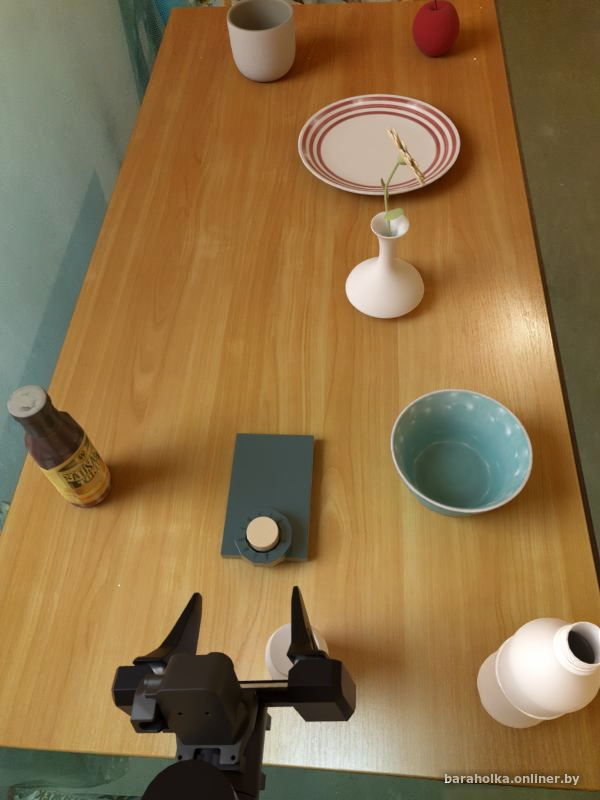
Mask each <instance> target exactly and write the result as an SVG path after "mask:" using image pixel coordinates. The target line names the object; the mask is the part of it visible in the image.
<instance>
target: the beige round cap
mask: <svg viewBox="0 0 600 800" xmlns="http://www.w3.org/2000/svg"><path fill="white" fill-rule="evenodd" d="M247 538H248V541H249V543H250V545H251V546H252V547H253V548H254V549H256V550H258V551H268V550H270V549H272V548H273V547H275V545H276V544H277V543H278V540H279V530H278V526H277V524H276V523H275V521H274V520H272V519H271V518H268V517H258V518H256V519H254V520H253V521H252V522H251V523H250V524H249V525H248V528H247Z"/></svg>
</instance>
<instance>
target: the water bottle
mask: <svg viewBox="0 0 600 800" xmlns="http://www.w3.org/2000/svg"><path fill="white" fill-rule="evenodd" d="M476 687H477V692H478V695H479V699H480V703H481V705H482V707H483V708H484V710H485V711H486V713H488V715H489V716H490V717H491V718H493V719H494V720H495V721H496V722H497V723H499V724H501V725H503V726H506V727H510V728H515V729H527V728H531V727H534V726H536V725H539V724H540V723H542V722H543V721H551V720H554V719H557V718H561V717H562V716H564V715H565V714H570V713H574V712H577V711H579V710H582V709H583V708H584V707H586V706H588V705H589V704H590V703H591V702H592V701H593V700H594V698H595V697H596V696H597V695H598V692H599V690H600V627H599V626H597V625H596V624H594V623H592V622H589V621H578V622H574V623H571V622H569V621H568V620H564V619H562V618H557V617H540V618H536V619H533V620H530V621H528V622H526V623H524V624H523V625H522V626H521V627H519V628H518V629H517V630H516V631H515V633H514V634H513V635H511V636H510V637H508V638H506V640H505V641H504V642H503V643H502V644H501V645H500V646H499V648H498V649H497V650H496V651H494V652H492V653H491V654H489V655H488V657H486V659H485V660H484V661H483V663H482V664H481V666H480V668H479V670H478V674H477V678H476Z"/></svg>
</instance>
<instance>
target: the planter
mask: <svg viewBox="0 0 600 800" xmlns="http://www.w3.org/2000/svg"><path fill="white" fill-rule="evenodd" d="M226 22H227V29H228V36H229V41H230V42H229V43H230V47H231V53H232V57H233V60H234V61H233V62H234V63H235V65H236V67H237V70H238V71H239V72H240V73H241V74H242V75H243V76H244V77H246V78H247V79H249V80H251V81H254V82H258V83H259V82H261V83H267V82H273V81H276V80H279V79H280V78H282V77H284V76H286V75H287V73H288V72H290V70H291V68H292V66H293V64H294V61H295V57H296V25H295V24H296V23H295V10H294V6H293V5H292V4H291V3H290V1H288V0H239V1H238V2H235V3H234V4H233V5H232V6H231V7H230V8H229V9H228V10H227V12H226Z"/></svg>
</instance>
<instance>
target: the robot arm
mask: <svg viewBox="0 0 600 800" xmlns="http://www.w3.org/2000/svg"><path fill="white" fill-rule="evenodd" d="M179 615H180V616H179V617H178V619H177V620H176V622H175V623H174V625H173V627H172V628H171V630H170V631H169V633H168V635H167V636H166V637H165V639H164V640H162V643H161V644H160V645H159V646H158V647H157V648H155V649H154V650H152V651H151V652H149V653H147V654H145V655H139V656H136V657H135V658H134V659H133V660H132V665H119V666H118V667H117V668H116V670H115V673H114V677H113V680H112V684H111V687H110V688H111V689H110V690H111V691H110V692H111V699H112V701H113V703H114V706H115V707H116V708H118V709H119V710H120V711H122V712H123V713H124V714H126V715H128V716H129V717H130V719H129V722H130V724H131V726H132V728H133V730H134V733H136V734H160V733H163V734H175V744H176V750H175V756H174V761H175V762H174V763H173V764H172V763H171V764H170V765H167V766H166V767H165V768H164V769H163V770H161V771H159V773H157V775H155V776H154V777H153V779H152V780H151V781H150V783H148V785H147V787H146V789H145V790H144V792H143V794H142V796H141V797H140V800H260V792H261V791H265V790H266V780H267V774H266V773H264V772H263V762H264V750H265V741H266V732H268V731H269V732H270V731H271V728H272V716H271V714H270V713H268V712H269V708H293V709H294V710H295V711H296V712H297V714H298V715H299V716H300V717H301V718H302V720H303V721H304V722H306V723H320V722H321V723H323V722H324V723H326V722H328V723H329V722H330V723H331V722H332V723H333V722H334V723H335V722H337V723H338V722H340V723H341V722H342V723H343V722H349V720H350V719H351V718H352V716H353V715H354V714H355V712H356V709H357V684H356V683H355V681H354V679H353V677H352V676H351V674H350V673H349V670H348V669H347V668H346V666H345V664H344V662H343V661H342V660H338V659H335V658H331V657H330V654H329V655H328V654H327V653H326V652H325V651H323V650H319V649H318V647H317V644H316V642H315V638H314V635H313V632H312V628H311V626H312V625H311V622H310V619H309V614H308V612H307V608H306V604H305V601H304V598H303V593H302V591H301V588H300V587H299V585H293V587H292V592H291V597H290V623H291V644H290V646H289V649H288V651H287V657H288V658H289V660H290V661H291V662H292V664H293V665H294V666H293V667H292V668H291V669H290V670H289V671H288V680H273V679H257V680H255V679H254V680H239V678H238V676H237V673H236V671H235V664H234V661H233V659H232V658H231V657H230V656H229V655H227V654H226V653H224V652H220V651H210V652H208V653H207V654H206V653H205V654H197V653H198V652H197V651H198V644H199V637H200V631H201V624H202V617H203V595H202V594H201V593H200V592H198V591H197V592H193V594H192V595H191V597H190V598H189V601H188V603H187V604H186V605H185V607H184V609H183V611H182V612H181V614H179Z"/></svg>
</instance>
